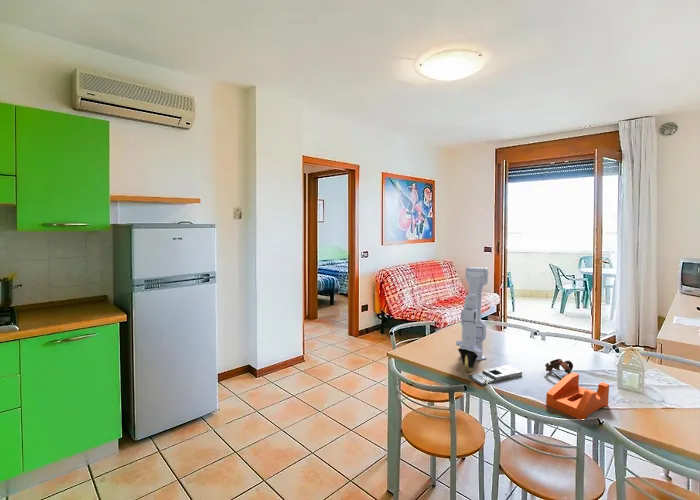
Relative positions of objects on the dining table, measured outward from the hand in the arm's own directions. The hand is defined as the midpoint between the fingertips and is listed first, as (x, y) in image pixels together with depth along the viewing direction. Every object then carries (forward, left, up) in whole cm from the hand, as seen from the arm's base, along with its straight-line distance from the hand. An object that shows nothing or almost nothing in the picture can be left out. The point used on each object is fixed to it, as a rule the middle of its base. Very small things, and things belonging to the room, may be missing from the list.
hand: (468, 365), depth 166 cm
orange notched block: (+39, +16, -3) cm, 43 cm away
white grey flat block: (+9, +7, -3) cm, 12 cm away
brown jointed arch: (+19, +33, -3) cm, 39 cm away
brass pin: (0, 0, -2) cm, 2 cm away
